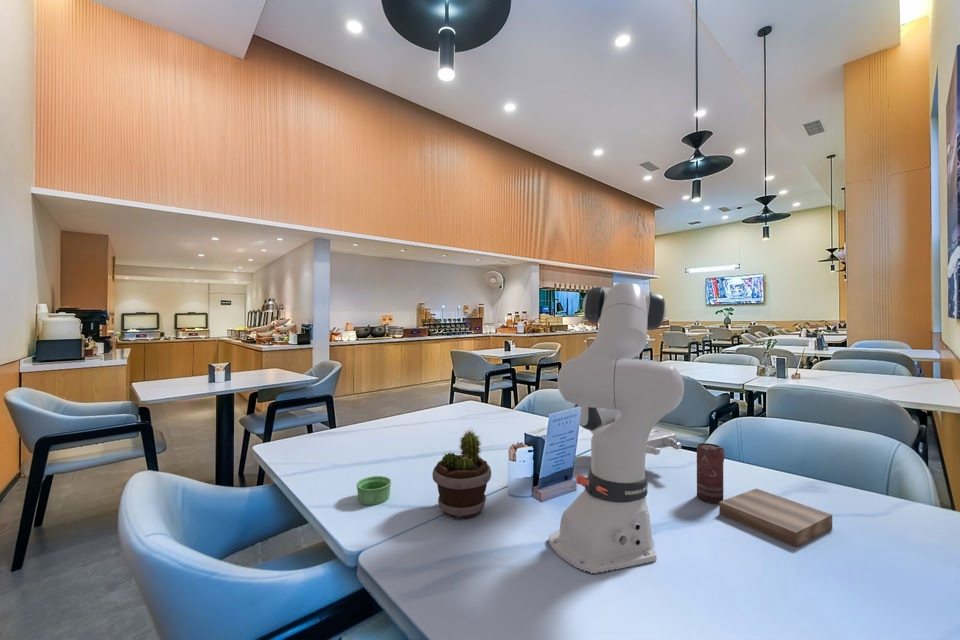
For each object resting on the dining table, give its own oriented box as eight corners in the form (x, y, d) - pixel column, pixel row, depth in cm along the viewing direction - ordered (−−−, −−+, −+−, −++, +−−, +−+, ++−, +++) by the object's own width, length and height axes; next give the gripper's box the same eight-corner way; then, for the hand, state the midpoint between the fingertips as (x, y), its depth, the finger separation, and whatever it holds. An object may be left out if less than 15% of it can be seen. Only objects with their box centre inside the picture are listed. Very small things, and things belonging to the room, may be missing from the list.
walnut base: (796, 547, 83) (796, 532, 83) (719, 514, 97) (719, 501, 97) (832, 527, 91) (832, 514, 91) (756, 499, 105) (756, 488, 105)
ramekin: (398, 498, 107) (397, 481, 107) (368, 510, 101) (368, 492, 101) (379, 488, 113) (379, 473, 113) (350, 499, 107) (349, 482, 107)
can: (728, 505, 102) (728, 450, 102) (701, 503, 103) (701, 449, 103) (719, 495, 108) (719, 443, 108) (693, 493, 109) (693, 441, 109)
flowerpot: (463, 532, 90) (463, 443, 90) (420, 510, 100) (419, 430, 100) (504, 509, 100) (504, 429, 100) (461, 491, 111) (461, 419, 111)
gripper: (607, 431, 124) (644, 444, 112) (652, 422, 133) (691, 433, 121) (607, 451, 124) (644, 466, 112) (652, 441, 133) (691, 453, 121)
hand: (669, 449), depth 117 cm, fingers open, 8 cm apart
